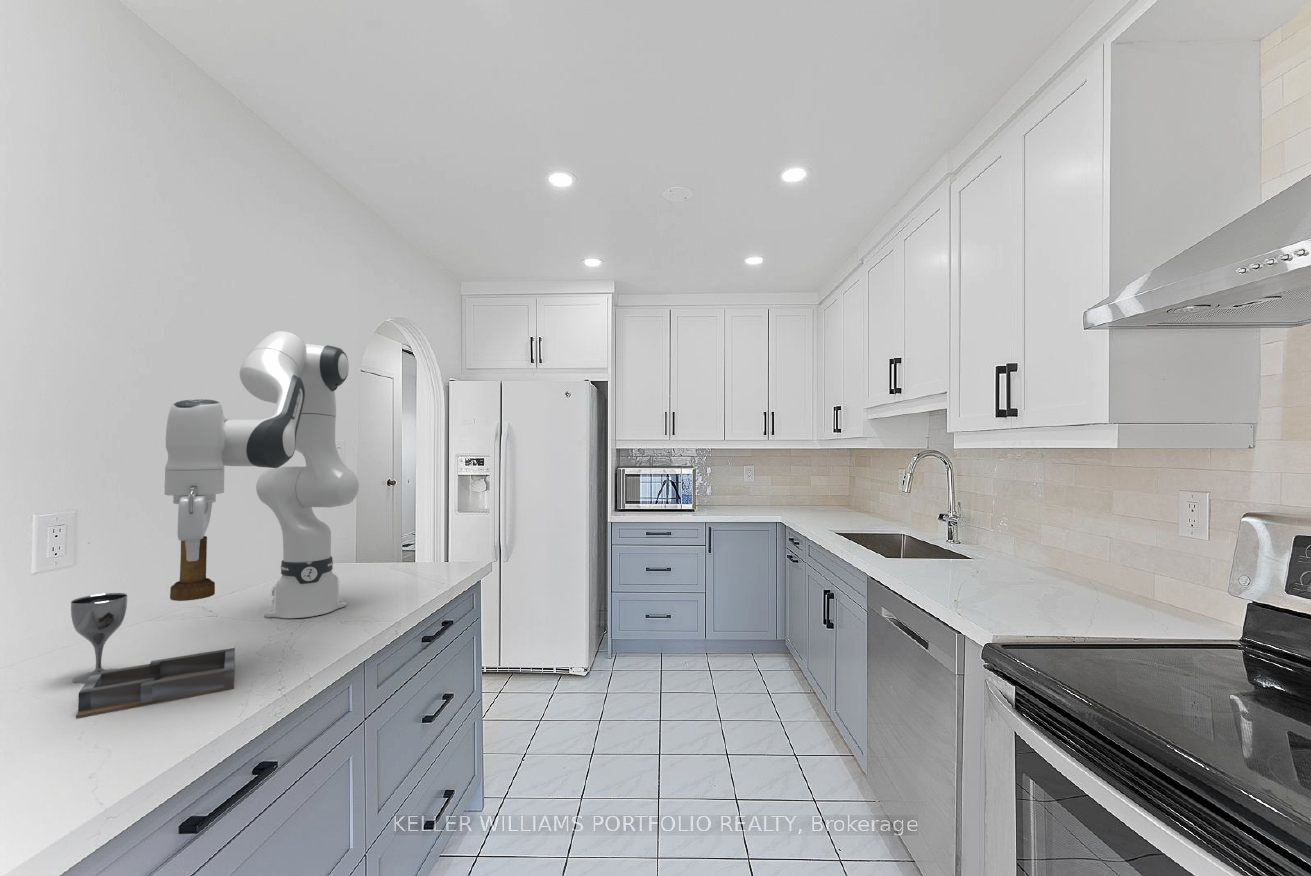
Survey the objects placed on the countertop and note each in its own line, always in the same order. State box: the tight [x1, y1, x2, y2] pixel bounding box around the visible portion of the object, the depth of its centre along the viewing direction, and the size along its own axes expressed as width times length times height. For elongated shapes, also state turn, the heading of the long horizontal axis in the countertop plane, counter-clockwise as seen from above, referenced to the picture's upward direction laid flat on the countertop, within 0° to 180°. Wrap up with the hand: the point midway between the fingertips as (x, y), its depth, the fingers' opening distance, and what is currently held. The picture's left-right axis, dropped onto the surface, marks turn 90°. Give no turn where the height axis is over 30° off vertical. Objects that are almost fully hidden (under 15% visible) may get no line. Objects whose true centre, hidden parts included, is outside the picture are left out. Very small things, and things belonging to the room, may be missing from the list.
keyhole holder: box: [75, 647, 236, 719], centre depth 108 cm, size 14×21×4 cm, turn 125°
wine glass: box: [70, 592, 128, 684], centre depth 114 cm, size 8×8×15 cm
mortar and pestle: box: [169, 513, 216, 602], centre depth 110 cm, size 7×6×18 cm
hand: (193, 558), depth 110 cm, fingers closed on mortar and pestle, 4 cm apart
